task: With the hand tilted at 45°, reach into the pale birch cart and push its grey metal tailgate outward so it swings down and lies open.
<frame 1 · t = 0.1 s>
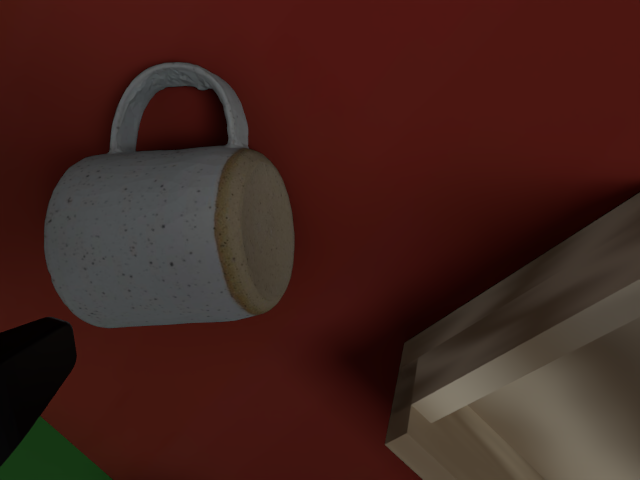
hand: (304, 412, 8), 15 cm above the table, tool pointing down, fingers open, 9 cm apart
ceramic mug: (211, 177, 24), on the table
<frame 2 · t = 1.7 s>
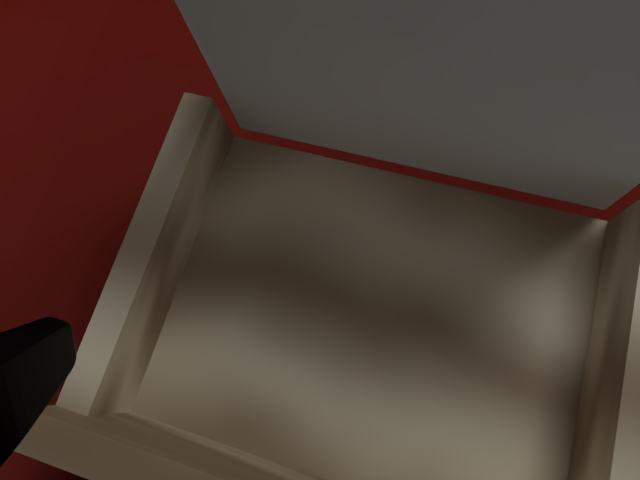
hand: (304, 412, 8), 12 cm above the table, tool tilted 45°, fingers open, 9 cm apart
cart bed: (413, 164, 23), on the table
tailgate: (434, 42, 14), point 9 cm above the table, hinge at 0.0°
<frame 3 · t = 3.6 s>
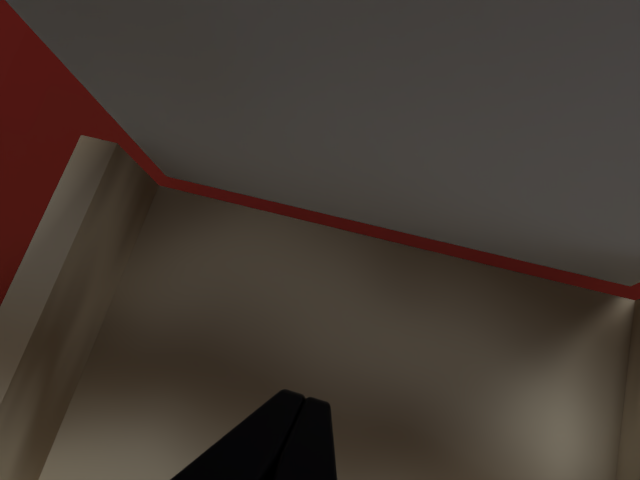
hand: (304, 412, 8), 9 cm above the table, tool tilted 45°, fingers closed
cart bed: (386, 217, 18), on the table
tailgate: (395, 76, 10), point 9 cm above the table, hinge at 0.0°
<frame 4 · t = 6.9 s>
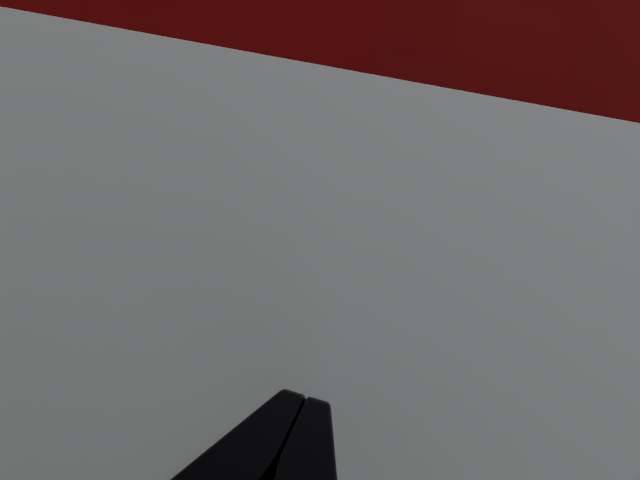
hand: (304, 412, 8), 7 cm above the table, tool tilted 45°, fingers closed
tailgate: (306, 424, 10), point 5 cm above the table, hinge at 64.4°
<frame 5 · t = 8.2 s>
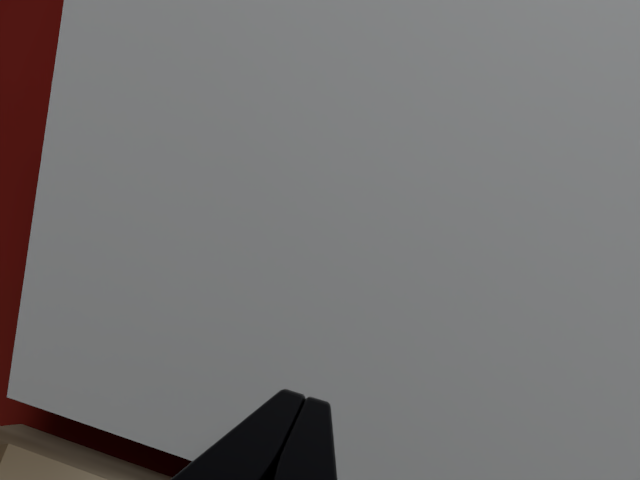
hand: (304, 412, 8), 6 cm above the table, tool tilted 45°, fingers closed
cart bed: (314, 465, 14), on the table
tailgate: (367, 206, 11), point 5 cm above the table, hinge at 68.1°
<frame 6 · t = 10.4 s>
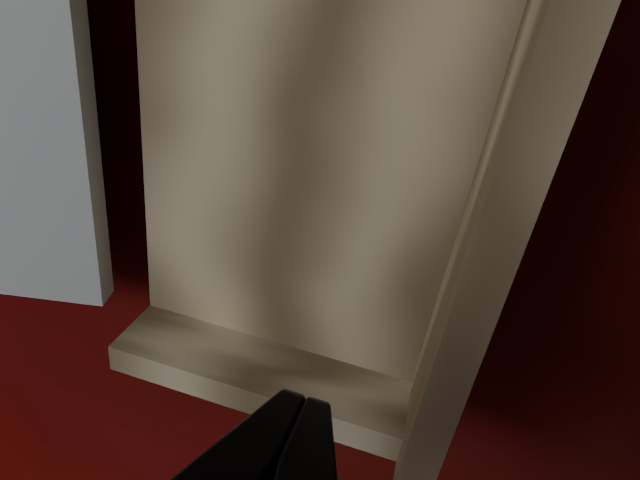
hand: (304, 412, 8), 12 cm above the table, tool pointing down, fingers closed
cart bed: (137, 118, 20), on the table
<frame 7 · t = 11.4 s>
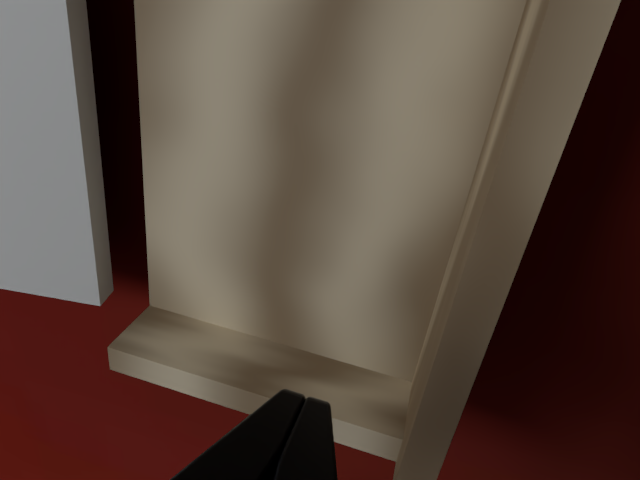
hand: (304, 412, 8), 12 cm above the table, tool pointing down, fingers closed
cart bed: (136, 118, 20), on the table
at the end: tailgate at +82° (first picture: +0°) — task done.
